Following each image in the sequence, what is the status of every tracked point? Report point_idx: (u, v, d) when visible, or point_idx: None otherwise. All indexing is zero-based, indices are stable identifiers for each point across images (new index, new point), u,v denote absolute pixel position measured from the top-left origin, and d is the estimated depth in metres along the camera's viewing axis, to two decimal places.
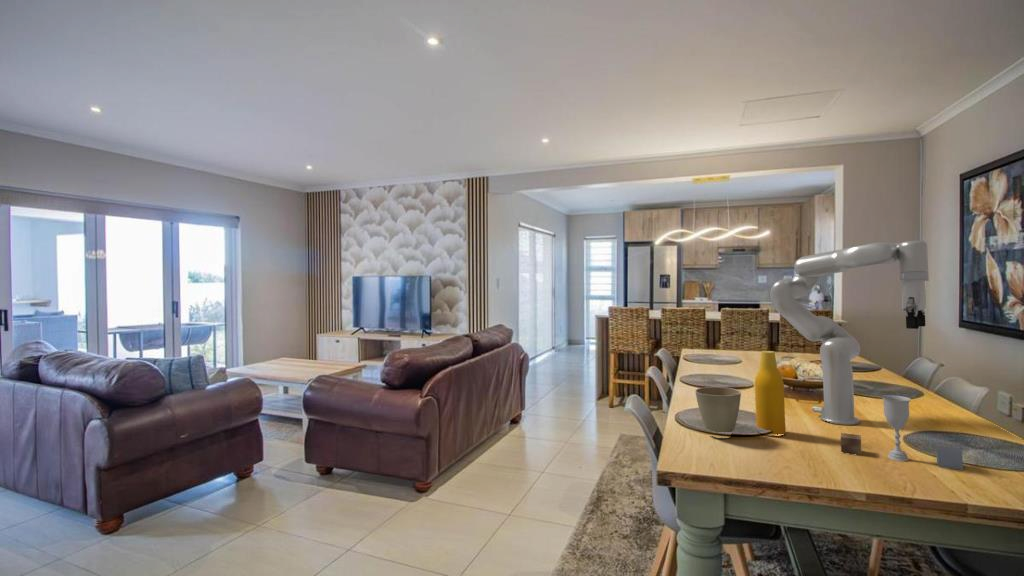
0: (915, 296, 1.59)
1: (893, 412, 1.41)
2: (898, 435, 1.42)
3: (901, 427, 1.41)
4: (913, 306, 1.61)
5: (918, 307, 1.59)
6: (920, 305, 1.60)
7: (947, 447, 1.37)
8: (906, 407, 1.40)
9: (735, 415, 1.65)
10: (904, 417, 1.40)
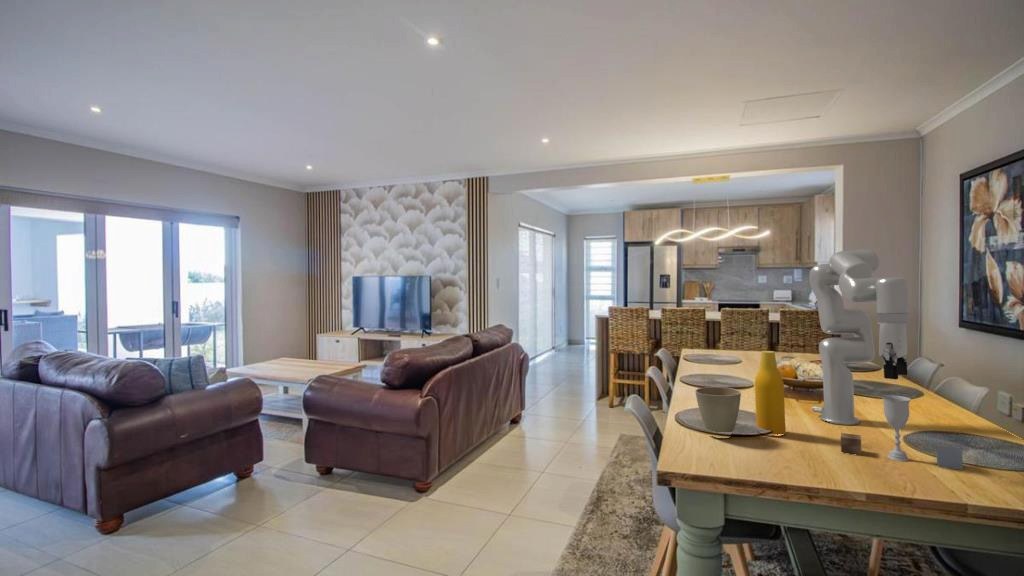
0: (894, 342, 1.39)
1: (893, 412, 1.41)
2: (898, 435, 1.42)
3: (901, 427, 1.41)
4: (892, 353, 1.41)
5: (897, 354, 1.38)
6: (900, 352, 1.39)
7: (947, 447, 1.37)
8: (906, 407, 1.40)
9: (735, 415, 1.65)
10: (904, 417, 1.40)
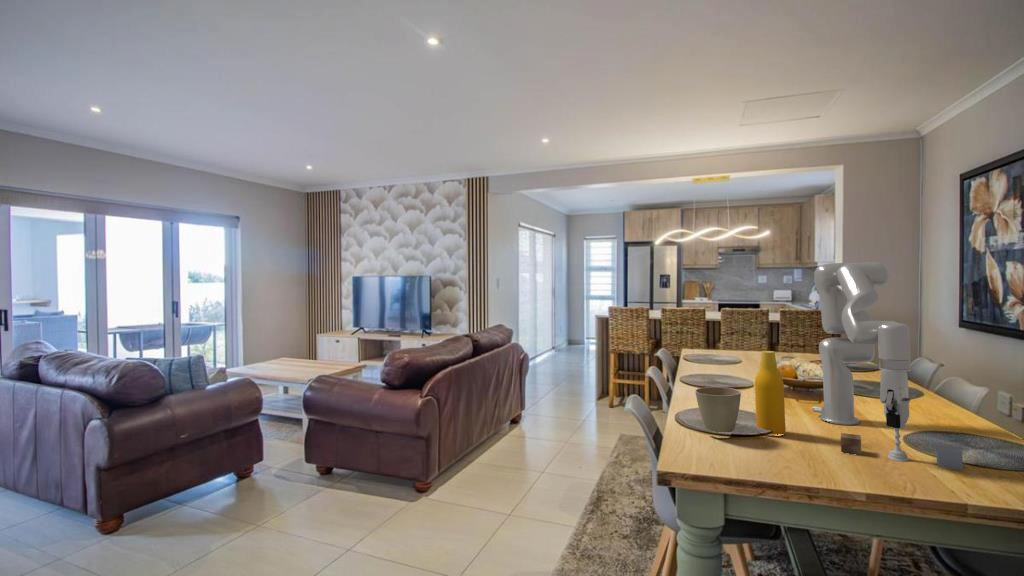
0: (895, 389, 1.39)
1: None
2: (898, 435, 1.42)
3: (901, 427, 1.41)
4: (893, 399, 1.41)
5: (898, 402, 1.39)
6: (901, 399, 1.39)
7: (947, 447, 1.37)
8: (906, 407, 1.40)
9: (735, 415, 1.65)
10: (904, 417, 1.40)
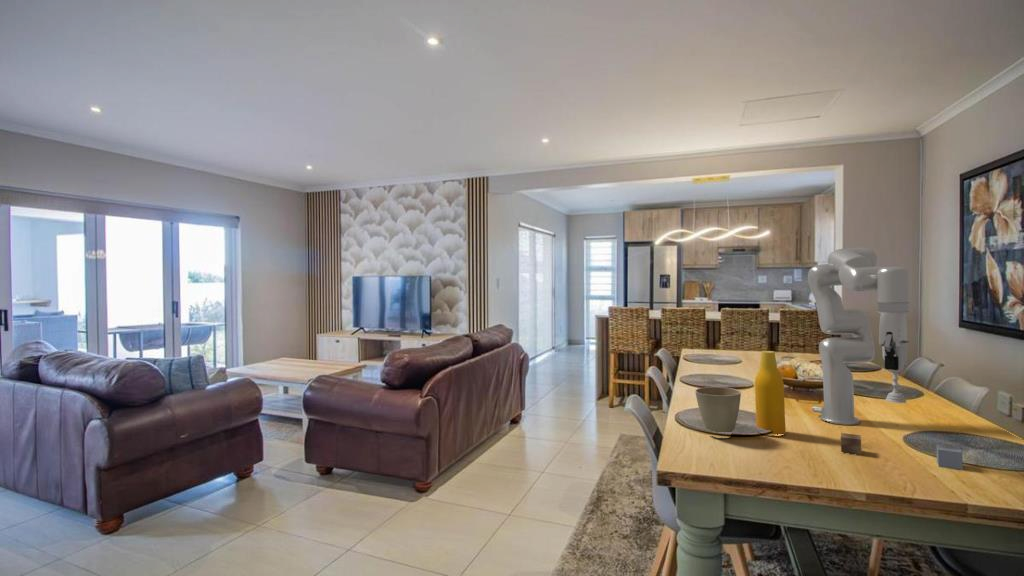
0: (894, 331, 1.40)
1: None
2: (896, 378, 1.44)
3: (899, 369, 1.43)
4: (891, 342, 1.42)
5: (897, 344, 1.40)
6: (899, 341, 1.40)
7: (947, 447, 1.37)
8: (904, 349, 1.41)
9: (735, 415, 1.65)
10: (902, 359, 1.41)
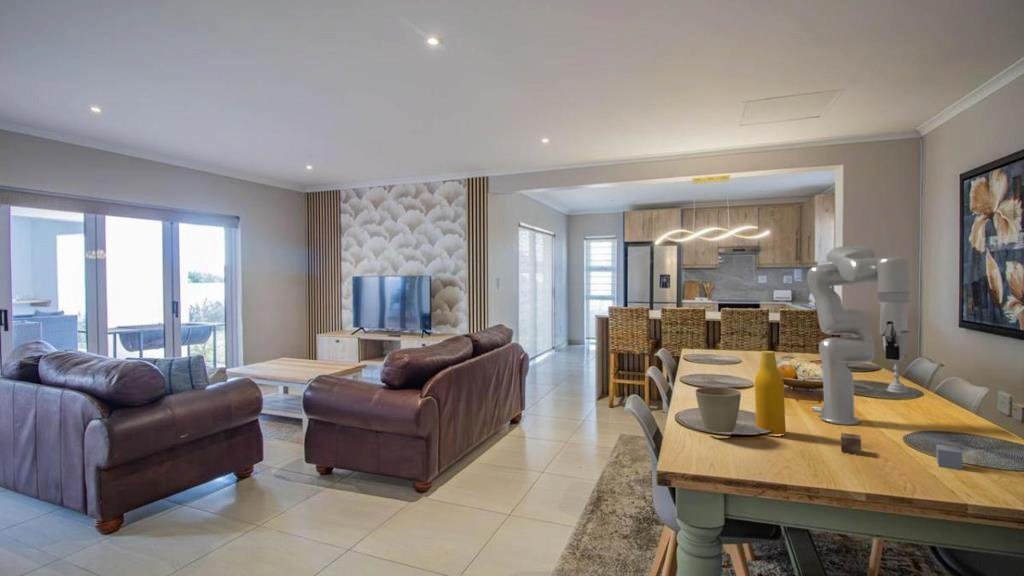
0: (895, 321, 1.40)
1: None
2: (897, 368, 1.44)
3: (900, 359, 1.43)
4: (892, 331, 1.42)
5: (897, 333, 1.40)
6: (900, 331, 1.40)
7: (947, 447, 1.37)
8: (905, 338, 1.41)
9: (735, 415, 1.65)
10: (903, 349, 1.41)
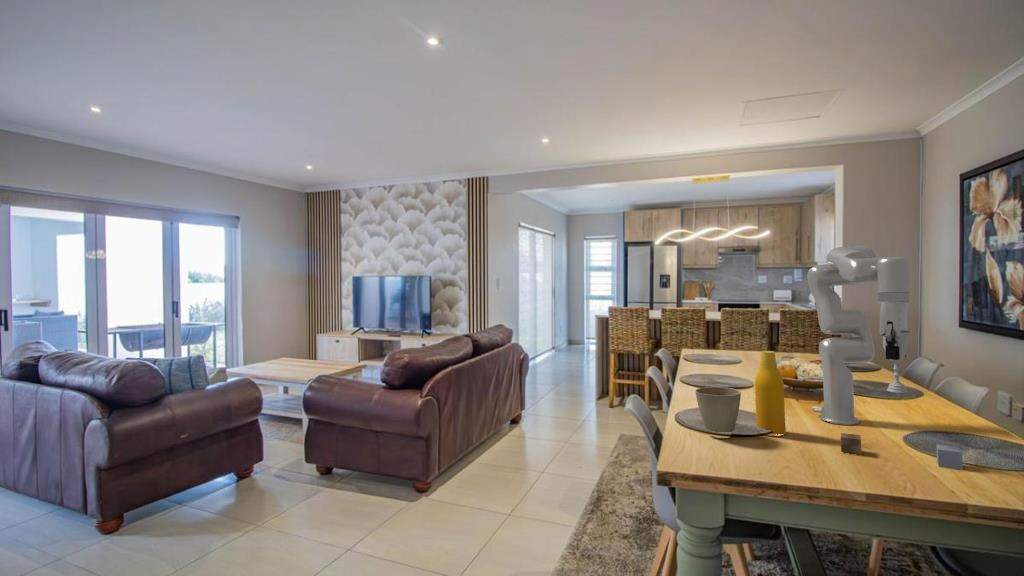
0: (895, 321, 1.40)
1: None
2: (897, 368, 1.44)
3: (900, 359, 1.43)
4: (892, 331, 1.42)
5: (897, 333, 1.40)
6: (900, 331, 1.40)
7: (947, 447, 1.37)
8: (905, 338, 1.41)
9: (735, 415, 1.65)
10: (903, 349, 1.41)
